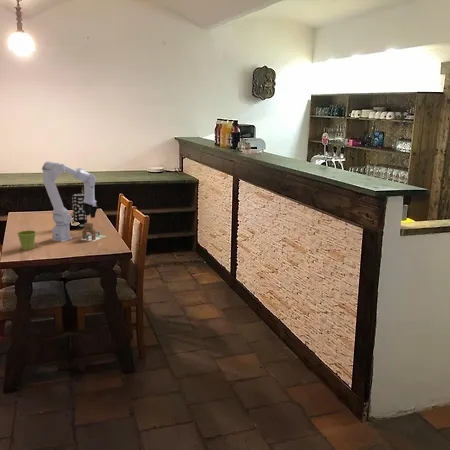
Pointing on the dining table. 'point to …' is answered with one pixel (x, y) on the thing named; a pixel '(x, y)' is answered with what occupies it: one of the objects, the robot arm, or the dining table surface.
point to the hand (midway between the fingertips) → (90, 216)
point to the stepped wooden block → (88, 230)
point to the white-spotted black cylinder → (79, 209)
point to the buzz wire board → (89, 238)
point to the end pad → (99, 236)
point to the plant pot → (27, 239)
